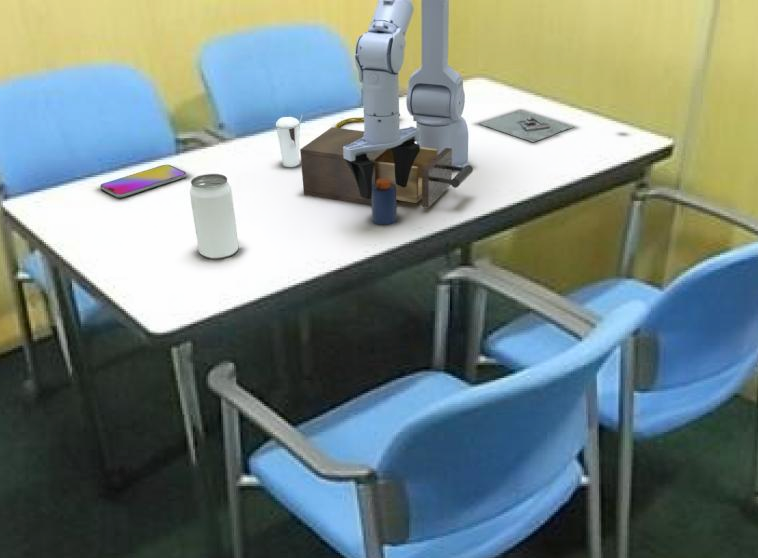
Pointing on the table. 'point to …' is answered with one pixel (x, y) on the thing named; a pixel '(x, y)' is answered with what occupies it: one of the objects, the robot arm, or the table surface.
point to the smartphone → (143, 180)
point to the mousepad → (526, 125)
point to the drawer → (424, 175)
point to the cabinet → (334, 166)
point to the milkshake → (289, 140)
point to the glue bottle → (384, 202)
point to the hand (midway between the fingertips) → (383, 191)
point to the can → (214, 216)
